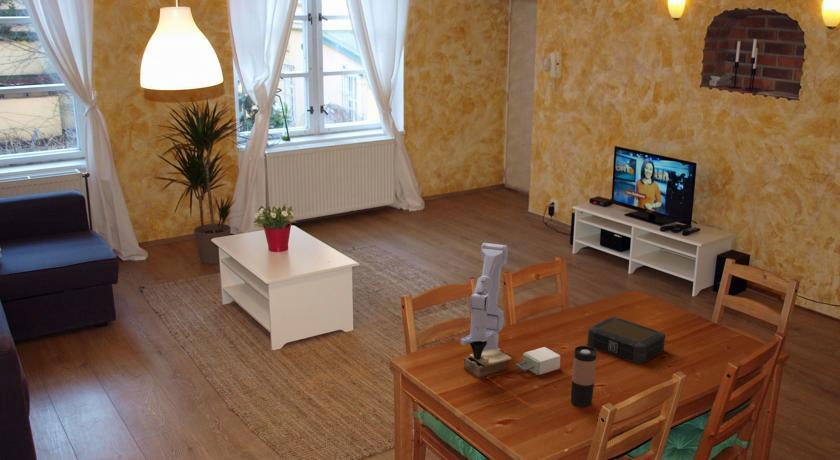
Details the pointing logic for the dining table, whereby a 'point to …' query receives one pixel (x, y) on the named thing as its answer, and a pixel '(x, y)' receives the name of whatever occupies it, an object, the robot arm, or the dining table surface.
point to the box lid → (491, 357)
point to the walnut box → (482, 371)
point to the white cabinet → (545, 359)
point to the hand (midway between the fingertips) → (477, 358)
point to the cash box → (626, 340)
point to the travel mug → (583, 376)
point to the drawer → (529, 364)
